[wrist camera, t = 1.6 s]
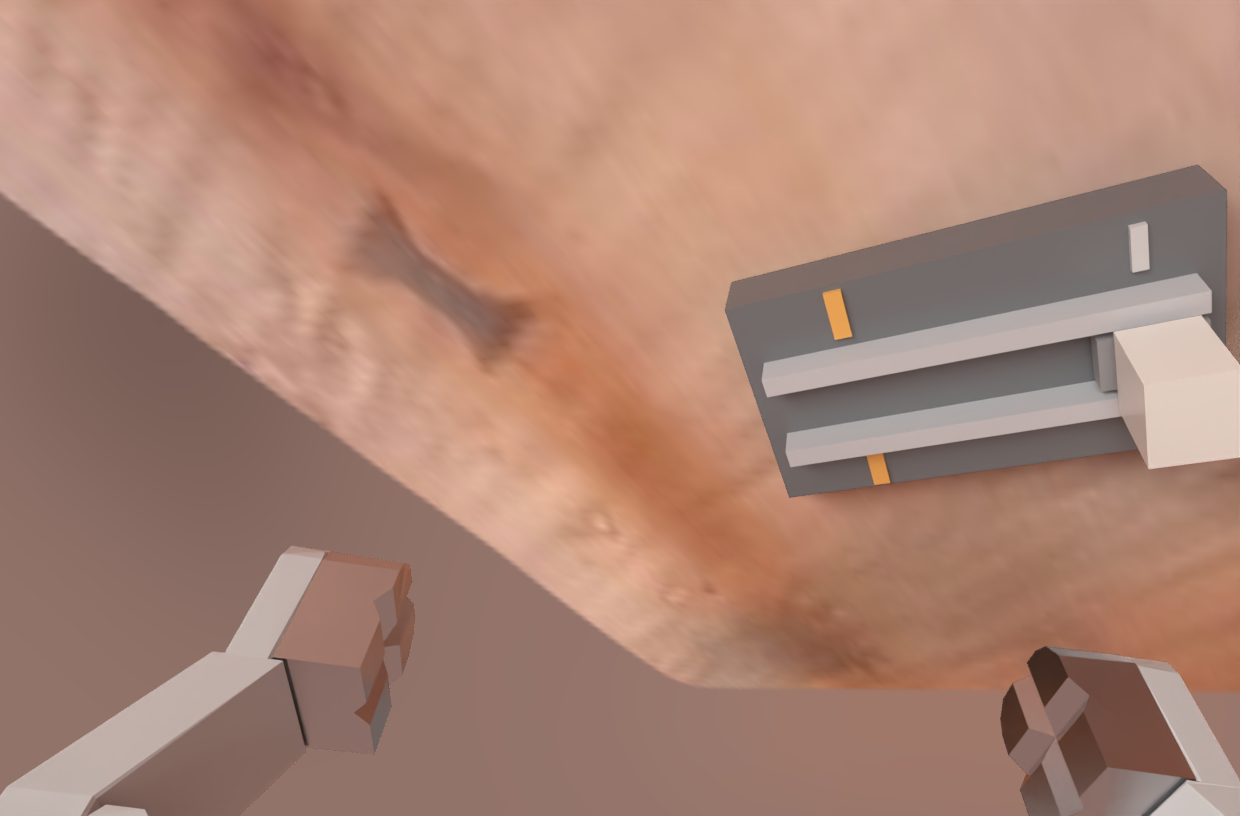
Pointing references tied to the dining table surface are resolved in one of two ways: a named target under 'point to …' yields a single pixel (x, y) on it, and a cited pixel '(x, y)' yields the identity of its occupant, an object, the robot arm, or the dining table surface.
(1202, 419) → the fader knob
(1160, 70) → the dining table surface
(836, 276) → the fader console
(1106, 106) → the dining table surface
